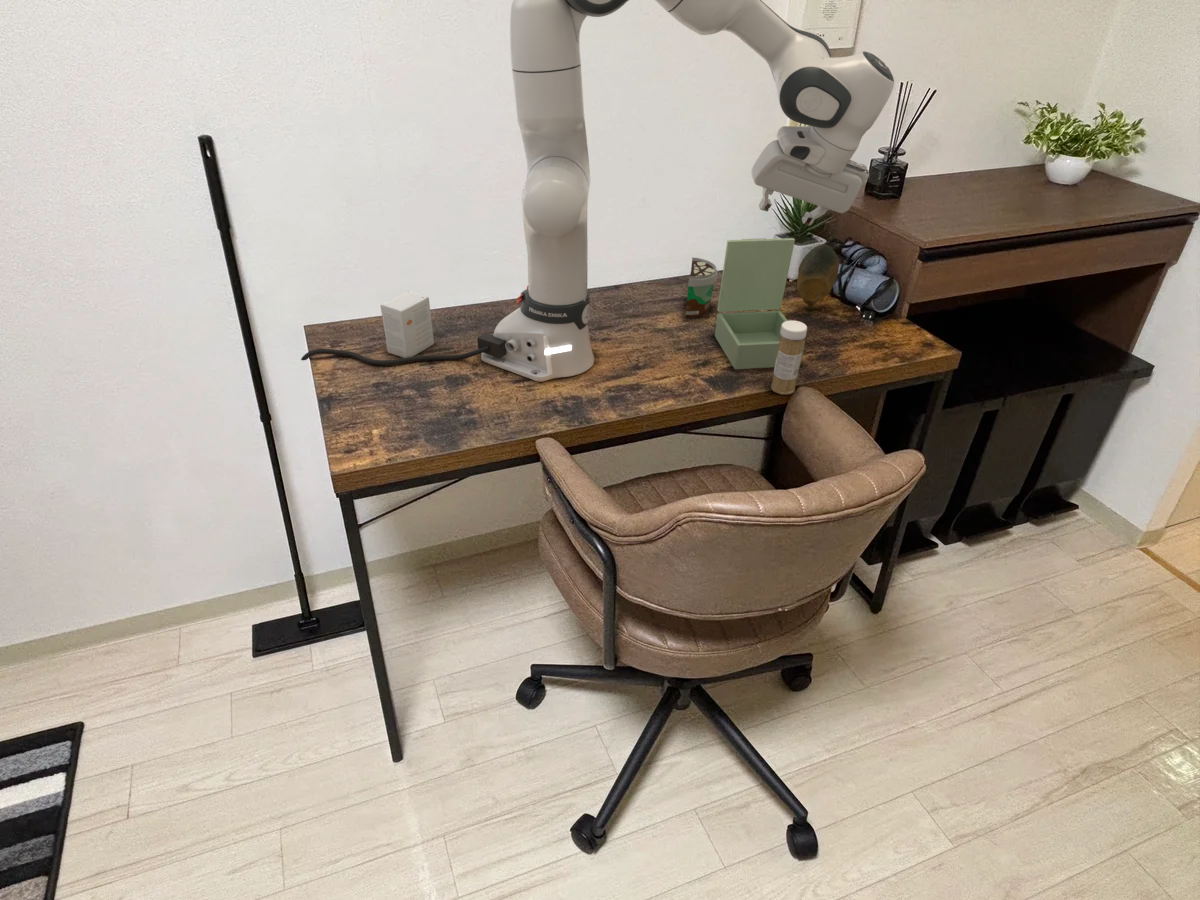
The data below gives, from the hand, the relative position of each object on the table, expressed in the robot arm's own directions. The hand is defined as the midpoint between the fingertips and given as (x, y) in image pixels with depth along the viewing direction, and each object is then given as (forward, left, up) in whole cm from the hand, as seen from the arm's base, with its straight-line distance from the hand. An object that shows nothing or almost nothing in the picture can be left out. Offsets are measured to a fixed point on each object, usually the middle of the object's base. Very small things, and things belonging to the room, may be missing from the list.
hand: (784, 216), depth 145 cm
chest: (-1, -4, -27) cm, 27 cm away
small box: (-65, -33, -27) cm, 77 cm away
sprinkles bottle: (+7, -17, -27) cm, 33 cm away
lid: (-4, +2, -13) cm, 14 cm away
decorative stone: (+6, +22, -27) cm, 36 cm away
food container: (-17, +10, -27) cm, 34 cm away
